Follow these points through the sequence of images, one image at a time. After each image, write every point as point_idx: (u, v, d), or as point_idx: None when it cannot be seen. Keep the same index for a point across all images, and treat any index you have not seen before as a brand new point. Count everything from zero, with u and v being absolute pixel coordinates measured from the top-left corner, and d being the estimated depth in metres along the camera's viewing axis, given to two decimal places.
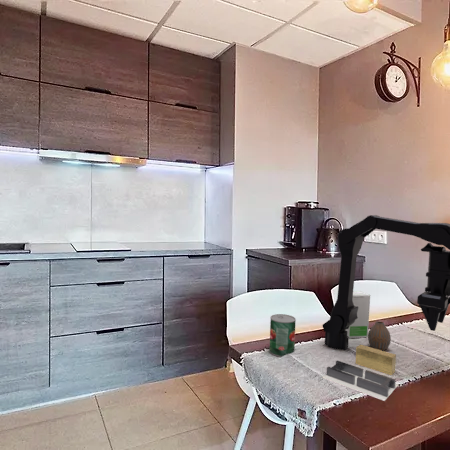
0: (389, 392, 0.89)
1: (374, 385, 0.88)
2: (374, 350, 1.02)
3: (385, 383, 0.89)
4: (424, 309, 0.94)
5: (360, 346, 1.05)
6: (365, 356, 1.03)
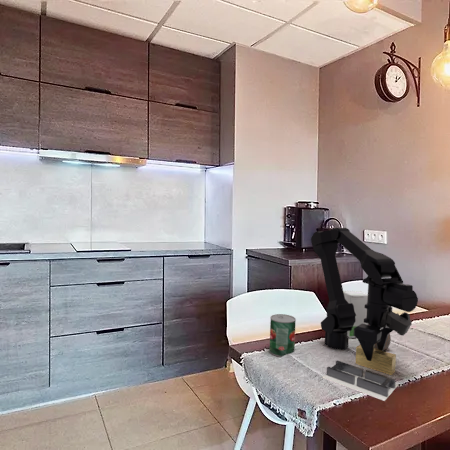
0: (389, 392, 0.89)
1: (374, 385, 0.88)
2: (374, 350, 1.02)
3: (385, 383, 0.89)
4: (361, 340, 0.98)
5: (360, 346, 1.05)
6: (365, 356, 1.03)
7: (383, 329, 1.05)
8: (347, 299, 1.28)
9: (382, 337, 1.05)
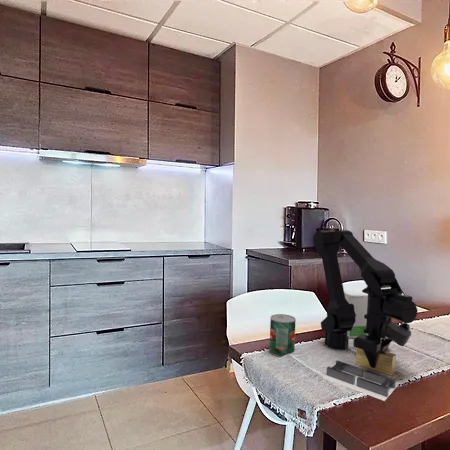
0: (389, 392, 0.89)
1: (374, 385, 0.88)
2: None
3: (385, 383, 0.89)
4: None
5: None
6: (365, 355, 1.02)
7: None
8: (347, 299, 1.28)
9: None
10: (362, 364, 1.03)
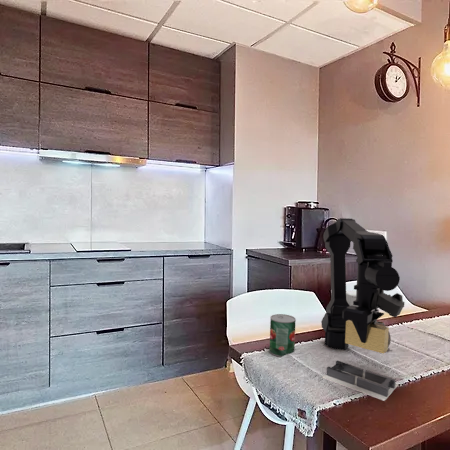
0: (389, 392, 0.89)
1: (374, 385, 0.88)
2: None
3: (385, 383, 0.89)
4: (354, 321, 0.93)
5: (350, 320, 0.97)
6: (355, 330, 0.95)
7: None
8: (347, 299, 1.28)
9: (370, 323, 0.95)
10: (352, 339, 0.95)
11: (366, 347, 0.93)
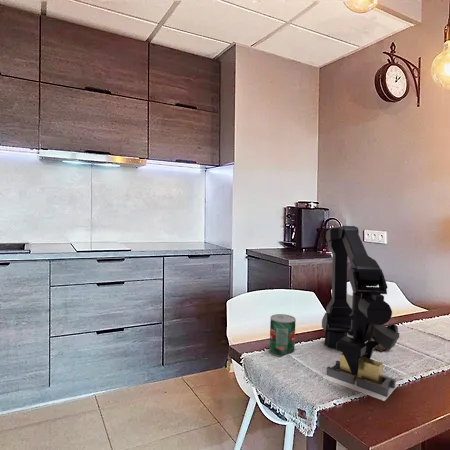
0: (389, 392, 0.89)
1: (374, 385, 0.88)
2: None
3: (385, 383, 0.89)
4: (345, 353, 0.91)
5: None
6: None
7: (368, 342, 0.96)
8: (347, 299, 1.28)
9: (368, 350, 0.96)
10: None
11: None
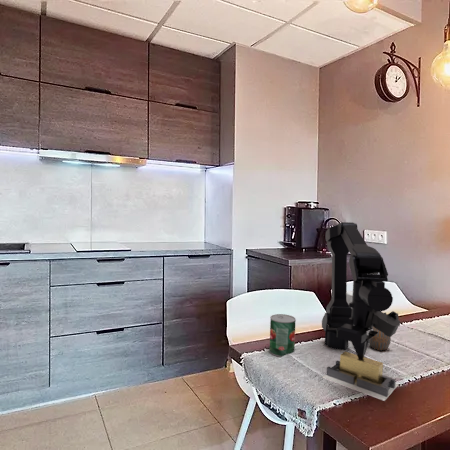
0: (389, 392, 0.89)
1: (374, 385, 0.88)
2: None
3: (385, 383, 0.89)
4: None
5: (345, 353, 0.97)
6: (349, 364, 0.94)
7: None
8: (347, 299, 1.28)
9: None
10: None
11: None
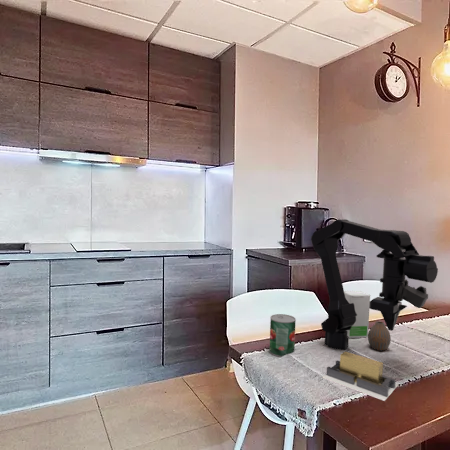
0: (389, 392, 0.89)
1: (374, 385, 0.88)
2: (360, 358, 0.94)
3: (385, 383, 0.89)
4: None
5: (345, 353, 0.97)
6: (349, 364, 0.94)
7: None
8: (347, 299, 1.28)
9: None
10: None
11: None
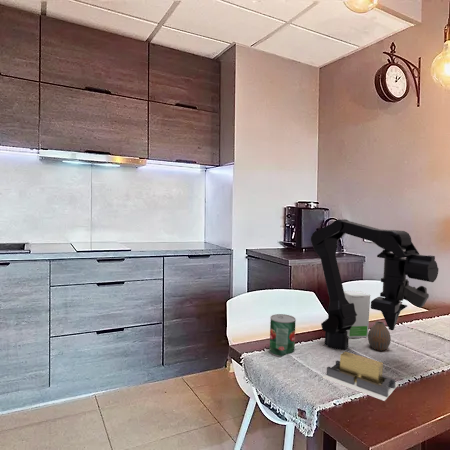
0: (389, 392, 0.89)
1: (374, 385, 0.88)
2: (360, 358, 0.94)
3: (385, 383, 0.89)
4: (383, 310, 1.01)
5: (345, 353, 0.97)
6: (349, 364, 0.94)
7: None
8: (347, 299, 1.28)
9: None
10: None
11: None
